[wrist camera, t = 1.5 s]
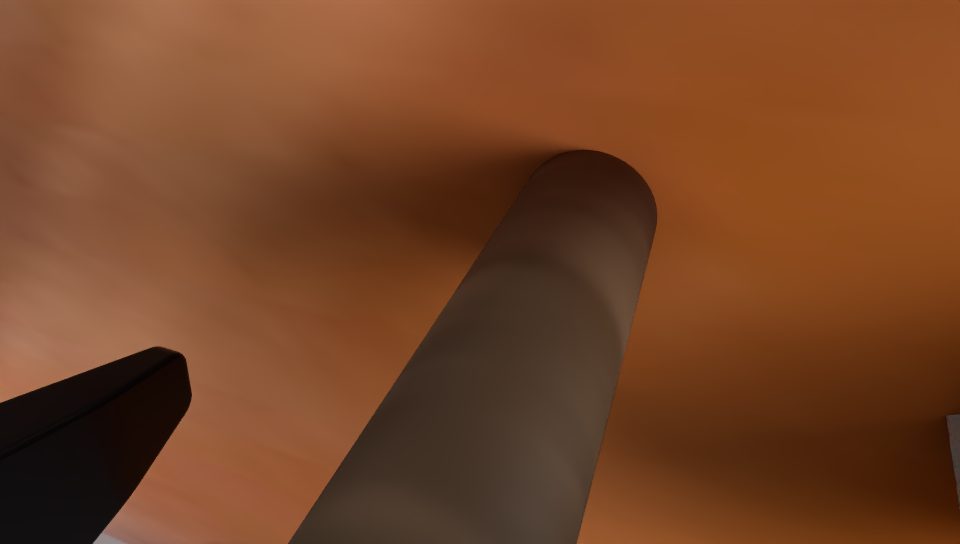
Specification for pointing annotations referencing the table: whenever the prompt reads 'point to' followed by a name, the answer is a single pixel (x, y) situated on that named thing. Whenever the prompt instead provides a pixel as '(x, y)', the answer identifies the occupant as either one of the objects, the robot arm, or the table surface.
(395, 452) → the walnut peg
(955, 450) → the food container
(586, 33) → the table surface
